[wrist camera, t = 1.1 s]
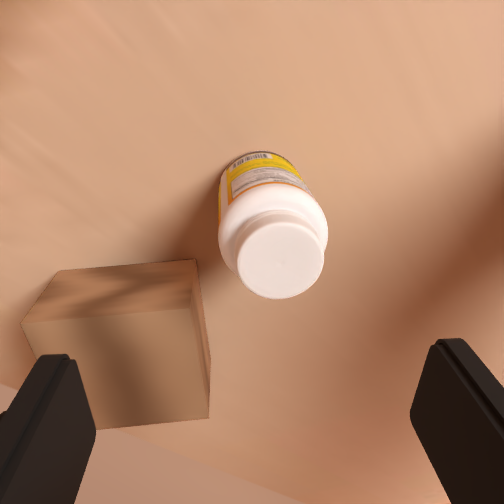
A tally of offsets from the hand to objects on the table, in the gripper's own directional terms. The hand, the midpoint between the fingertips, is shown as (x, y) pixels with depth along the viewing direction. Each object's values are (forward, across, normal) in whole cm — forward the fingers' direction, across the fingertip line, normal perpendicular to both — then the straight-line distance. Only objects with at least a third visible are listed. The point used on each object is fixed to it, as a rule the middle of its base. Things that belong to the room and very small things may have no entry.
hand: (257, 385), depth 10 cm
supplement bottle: (+17, -2, 0) cm, 17 cm away
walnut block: (+17, +8, +11) cm, 22 cm away
